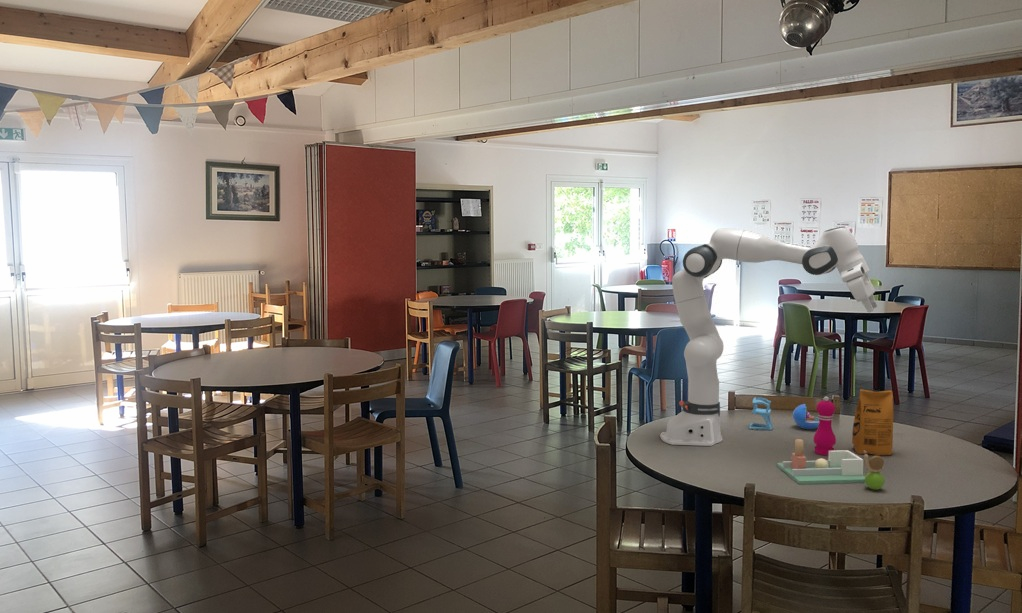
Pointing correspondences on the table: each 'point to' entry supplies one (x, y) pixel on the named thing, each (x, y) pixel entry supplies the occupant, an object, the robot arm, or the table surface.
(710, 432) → the robot arm
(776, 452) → the table surface
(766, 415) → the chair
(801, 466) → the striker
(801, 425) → the cell model
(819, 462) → the ball
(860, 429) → the coffee package
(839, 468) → the pitch
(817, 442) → the pepper mill
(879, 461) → the snail figurine
